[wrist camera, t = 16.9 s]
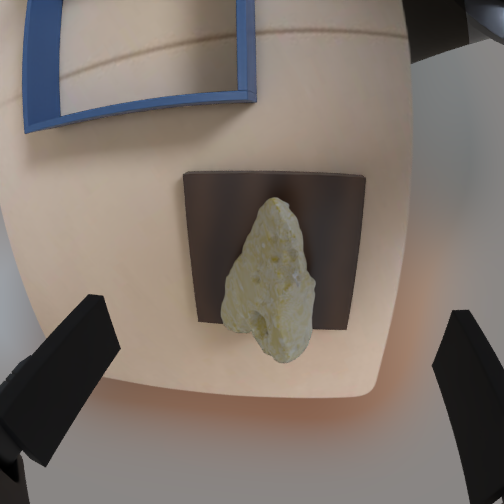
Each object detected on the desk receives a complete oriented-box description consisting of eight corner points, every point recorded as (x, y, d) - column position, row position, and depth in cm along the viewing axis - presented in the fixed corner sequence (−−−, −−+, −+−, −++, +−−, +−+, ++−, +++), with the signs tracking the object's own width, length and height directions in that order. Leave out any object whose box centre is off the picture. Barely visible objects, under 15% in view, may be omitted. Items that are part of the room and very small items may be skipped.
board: (362, 174, 30) (365, 177, 29) (345, 322, 38) (346, 330, 36) (187, 171, 32) (182, 174, 31) (201, 314, 40) (198, 321, 39)
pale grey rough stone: (280, 333, 40) (376, 343, 28) (233, 359, 36) (325, 385, 24) (243, 218, 39) (333, 182, 27) (190, 233, 35) (269, 196, 23)
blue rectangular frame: (252, -75, 19) (243, -102, 14) (256, 102, 29) (247, 99, 23) (61, -24, 23) (33, -33, 17) (56, 127, 32) (24, 134, 26)
